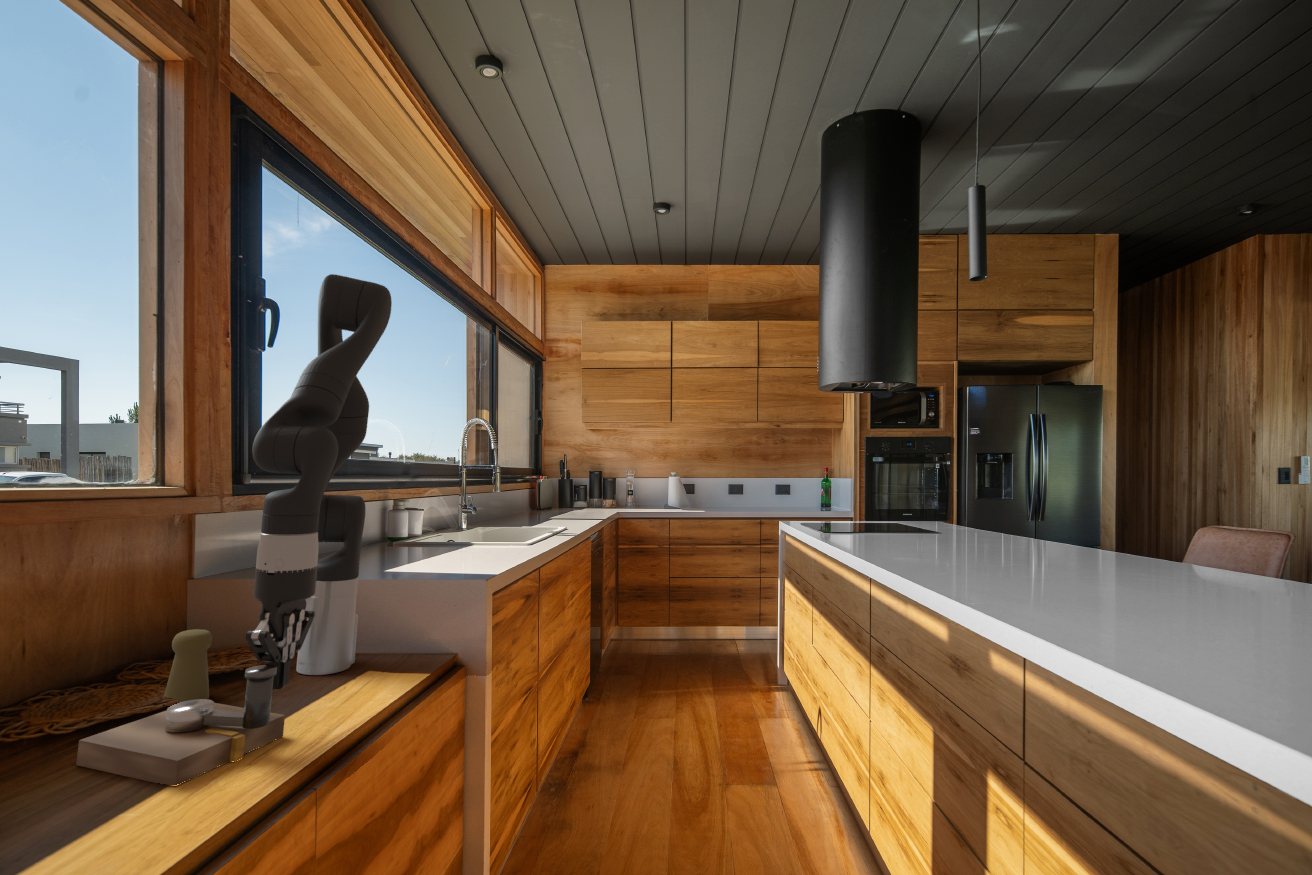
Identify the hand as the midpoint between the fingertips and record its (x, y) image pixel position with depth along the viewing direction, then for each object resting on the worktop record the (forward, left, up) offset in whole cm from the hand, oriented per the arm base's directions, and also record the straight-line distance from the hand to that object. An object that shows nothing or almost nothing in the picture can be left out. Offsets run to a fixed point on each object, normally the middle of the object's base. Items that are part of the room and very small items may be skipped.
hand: (277, 686), depth 84 cm
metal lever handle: (+6, -3, -4) cm, 7 cm away
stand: (+6, -7, -7) cm, 12 cm away
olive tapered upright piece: (-7, -24, -7) cm, 26 cm away
